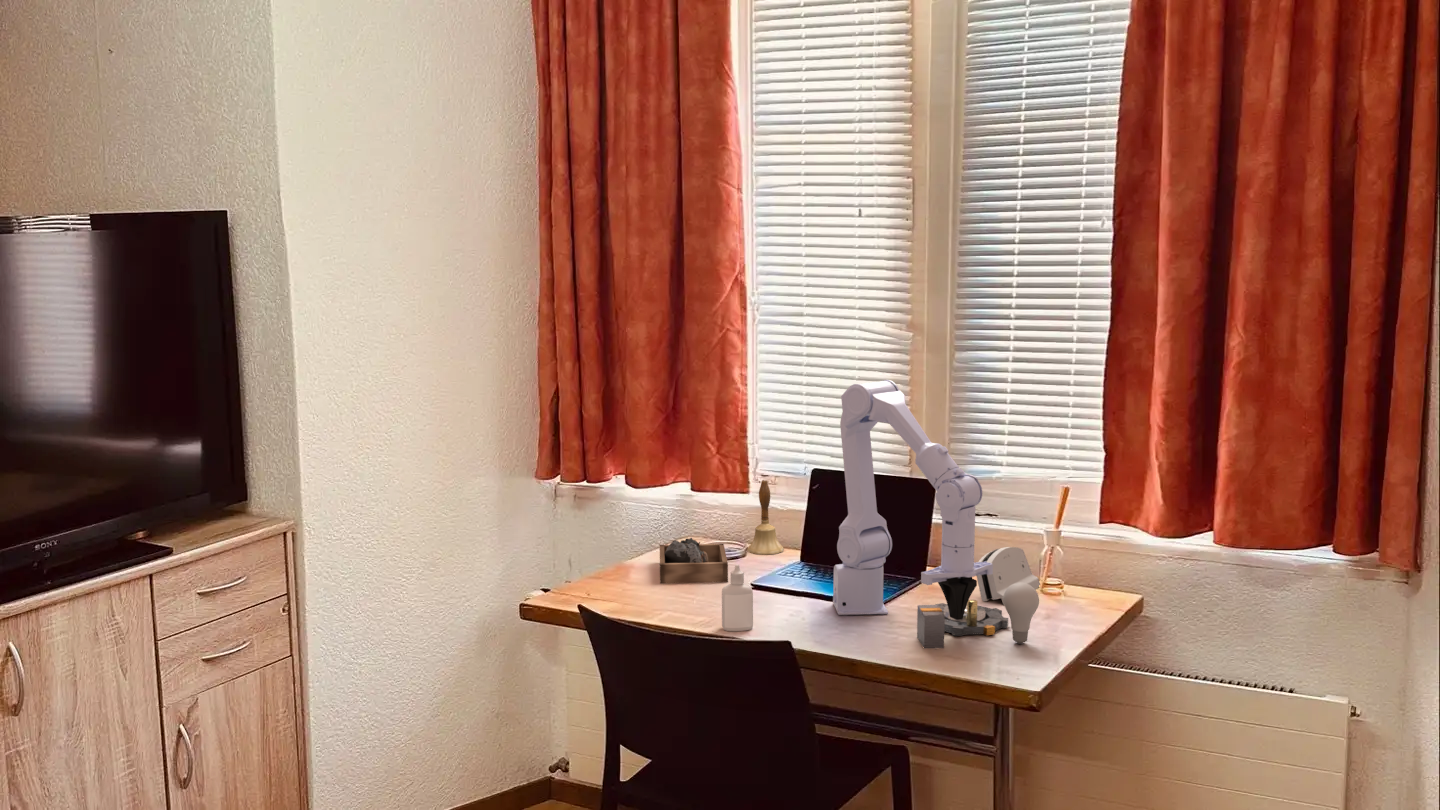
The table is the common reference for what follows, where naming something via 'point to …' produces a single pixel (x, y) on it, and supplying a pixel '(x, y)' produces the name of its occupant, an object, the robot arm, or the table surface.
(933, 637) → the marked link
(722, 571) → the open wooden box
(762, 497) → the hand bell
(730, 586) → the eye dropper bottle
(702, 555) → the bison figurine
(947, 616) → the hub
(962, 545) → the robot arm
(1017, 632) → the lightbulb
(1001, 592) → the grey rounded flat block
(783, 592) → the table surface
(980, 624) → the sprocket
